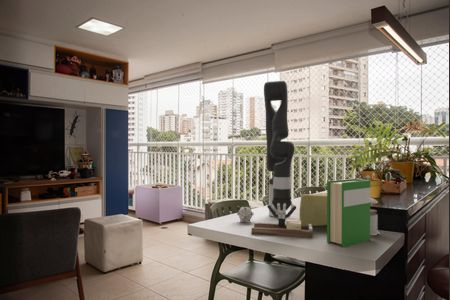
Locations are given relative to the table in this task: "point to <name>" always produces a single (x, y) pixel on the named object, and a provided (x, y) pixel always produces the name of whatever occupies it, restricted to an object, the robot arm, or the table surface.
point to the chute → (281, 230)
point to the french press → (373, 217)
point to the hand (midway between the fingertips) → (281, 226)
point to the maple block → (293, 224)
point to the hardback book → (348, 211)
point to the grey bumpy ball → (245, 214)
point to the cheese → (313, 209)
